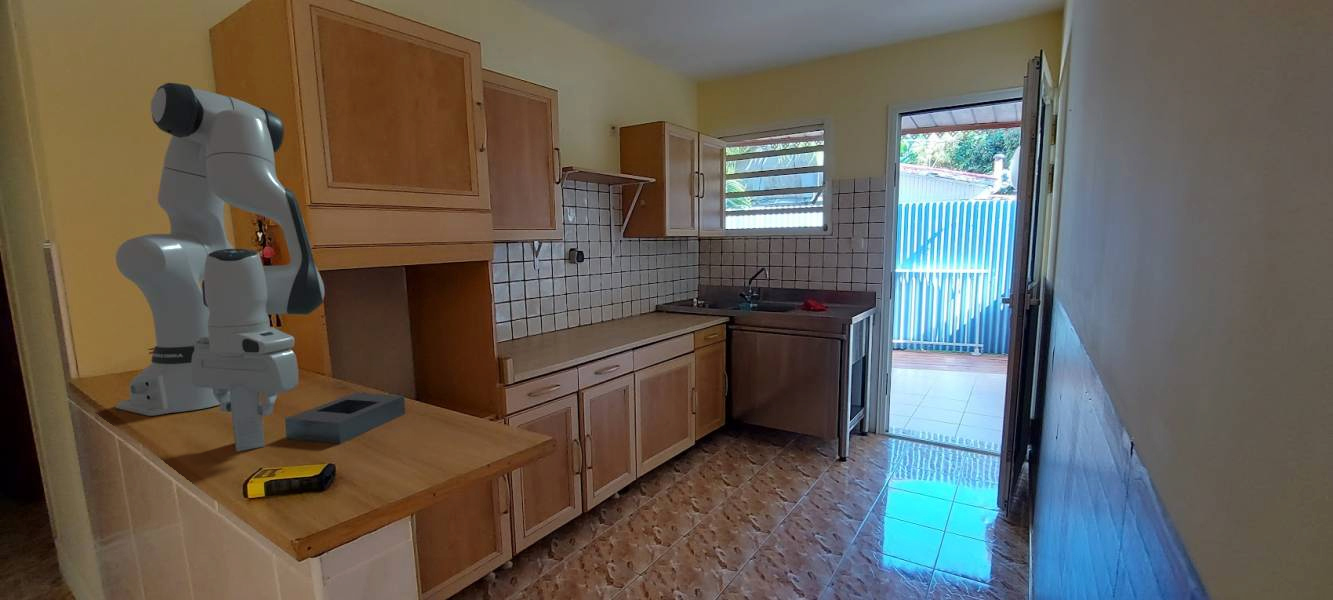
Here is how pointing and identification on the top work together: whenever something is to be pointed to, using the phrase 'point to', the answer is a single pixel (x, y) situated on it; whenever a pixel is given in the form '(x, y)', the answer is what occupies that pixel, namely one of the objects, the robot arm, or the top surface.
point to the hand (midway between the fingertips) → (247, 412)
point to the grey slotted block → (344, 417)
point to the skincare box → (246, 418)
